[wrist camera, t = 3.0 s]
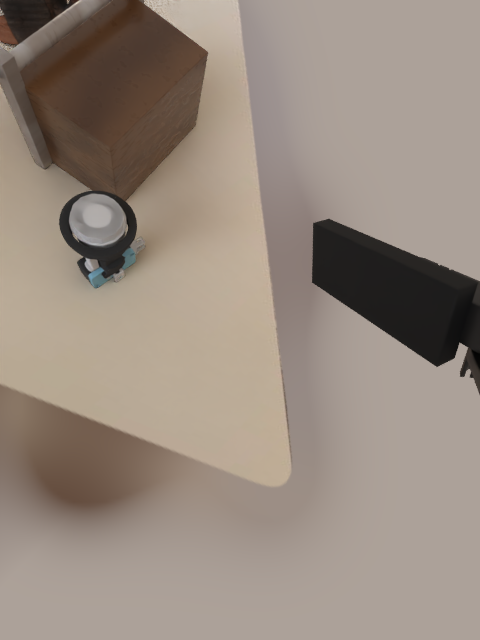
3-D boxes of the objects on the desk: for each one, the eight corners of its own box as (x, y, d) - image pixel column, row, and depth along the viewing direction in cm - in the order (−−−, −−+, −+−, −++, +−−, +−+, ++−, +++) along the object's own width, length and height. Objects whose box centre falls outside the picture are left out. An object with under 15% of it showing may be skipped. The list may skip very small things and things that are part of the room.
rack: (34, 162, 36) (-14, 54, 25) (135, 71, 41) (132, -50, 30) (111, 216, 36) (97, 133, 26) (201, 119, 42) (220, 17, 31)
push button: (127, 226, 36) (120, 162, 27) (160, 266, 36) (166, 215, 27) (68, 263, 34) (39, 206, 25) (104, 305, 34) (88, 265, 25)
